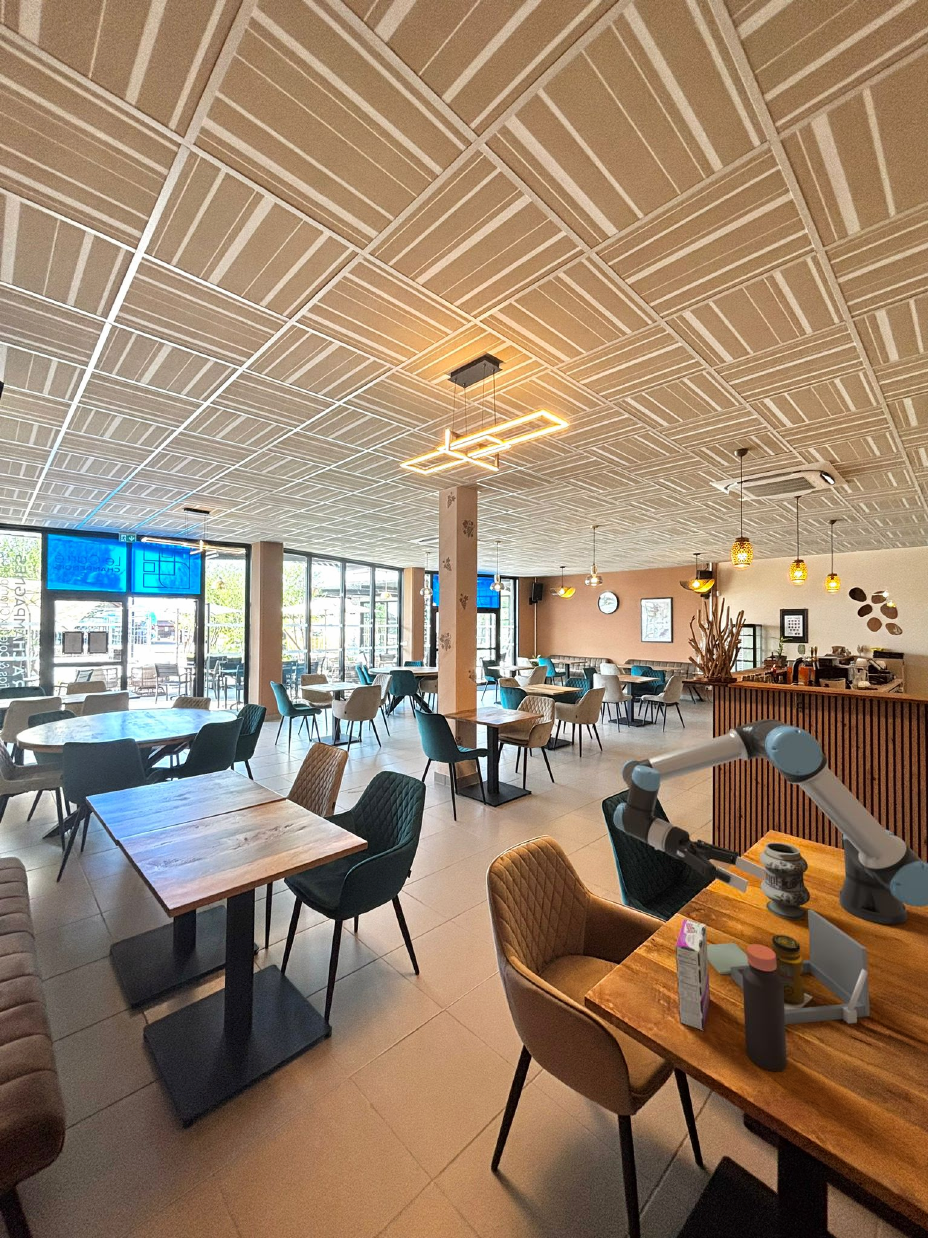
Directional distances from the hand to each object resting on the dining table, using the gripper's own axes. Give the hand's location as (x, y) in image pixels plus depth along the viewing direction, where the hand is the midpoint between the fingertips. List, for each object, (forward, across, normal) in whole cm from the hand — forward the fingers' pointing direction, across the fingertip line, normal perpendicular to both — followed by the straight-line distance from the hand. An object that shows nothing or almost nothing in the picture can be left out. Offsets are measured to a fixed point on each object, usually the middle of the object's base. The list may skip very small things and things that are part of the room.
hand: (755, 880), depth 120 cm
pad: (-3, -4, -23) cm, 23 cm away
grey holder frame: (+12, -1, -20) cm, 23 cm away
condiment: (+10, +1, -21) cm, 23 cm away
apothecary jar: (0, -37, -17) cm, 41 cm away
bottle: (+12, +21, -24) cm, 34 cm away
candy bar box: (-2, +18, -26) cm, 32 cm away
